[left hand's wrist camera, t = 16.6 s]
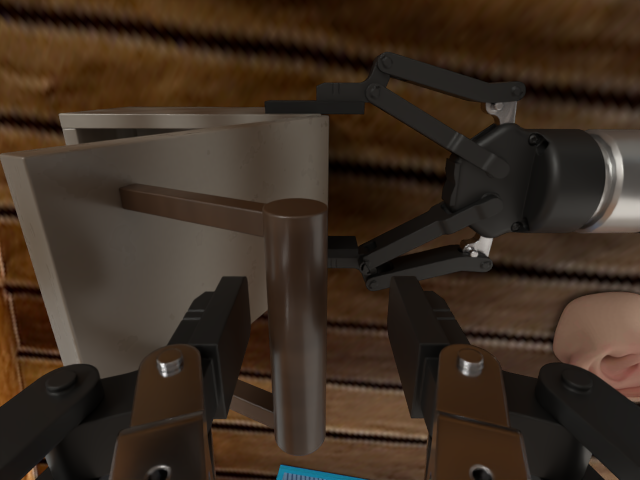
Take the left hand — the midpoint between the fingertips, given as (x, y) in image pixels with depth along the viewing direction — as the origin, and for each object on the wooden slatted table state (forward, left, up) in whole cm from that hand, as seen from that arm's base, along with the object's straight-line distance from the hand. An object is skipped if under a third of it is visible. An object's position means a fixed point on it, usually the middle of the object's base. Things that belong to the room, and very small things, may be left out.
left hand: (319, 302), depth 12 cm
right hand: (+1, -4, -17) cm, 17 cm away
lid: (+1, -4, -7) cm, 8 cm away
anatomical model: (+12, +35, -24) cm, 44 cm away
